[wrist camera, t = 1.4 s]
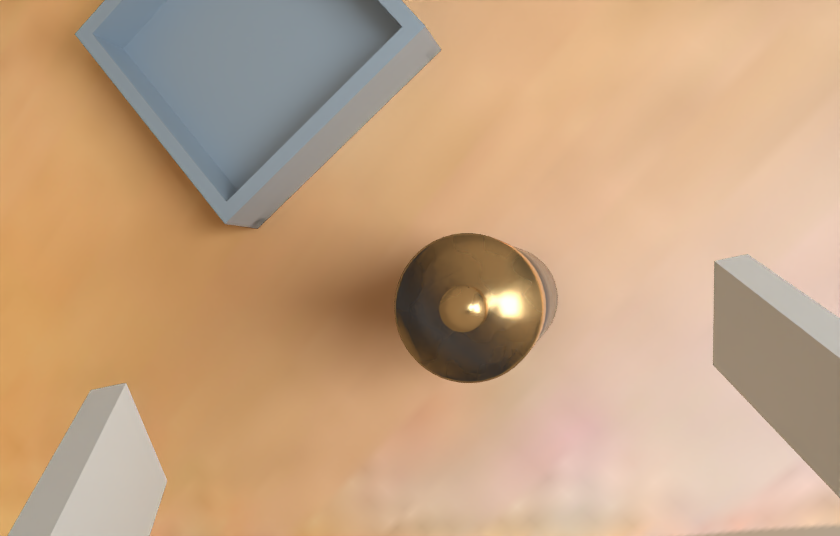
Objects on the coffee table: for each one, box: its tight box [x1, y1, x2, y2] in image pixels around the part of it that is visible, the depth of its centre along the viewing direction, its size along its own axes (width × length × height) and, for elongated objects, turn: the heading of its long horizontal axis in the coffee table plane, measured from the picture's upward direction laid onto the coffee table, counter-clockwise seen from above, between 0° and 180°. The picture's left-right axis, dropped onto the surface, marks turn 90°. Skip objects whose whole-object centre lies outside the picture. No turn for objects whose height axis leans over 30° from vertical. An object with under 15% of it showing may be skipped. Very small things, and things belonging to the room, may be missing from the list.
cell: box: [395, 233, 558, 383], centre depth 29 cm, size 5×5×12 cm
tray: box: [75, 0, 441, 228], centre depth 37 cm, size 14×14×4 cm
